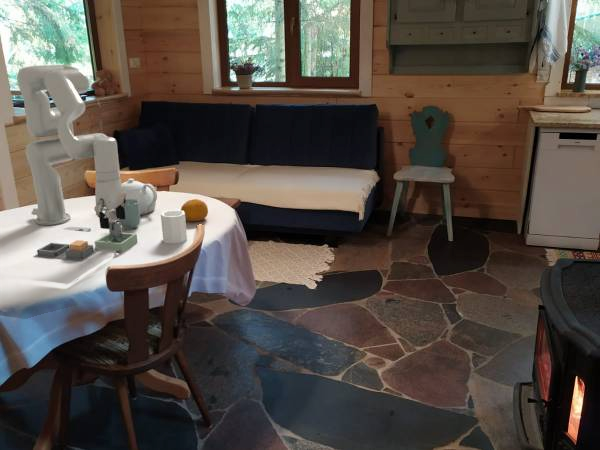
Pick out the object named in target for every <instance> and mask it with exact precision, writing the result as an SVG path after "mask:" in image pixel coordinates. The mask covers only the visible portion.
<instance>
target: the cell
mask: <svg viewBox="0 0 600 450" xmlns="http://www.w3.org/2000/svg"><path fill="white" fill-rule="evenodd" d="M109 225H110V228H109V229H108V233H110V240H109V242H115V243H121V242H123V241H124V239H123V238H122V233H123V231H122V230H123V229H122V226H121V222H120V221H119V220H117V219H113V220H111V221H110V220H109Z"/></svg>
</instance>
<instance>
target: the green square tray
mask: <svg viewBox="0 0 600 450" xmlns="http://www.w3.org/2000/svg"><path fill="white" fill-rule="evenodd" d="M122 238H123V242H121V243H115V242H111V241H110V233H109V232H108V233H107V234H105V235H103V236H102V237H100V238H98V239H97V240H94V246H95V248H99V249H109V250H117V251H115V252H114V253H115V254H123V253H125V252H126V251H127V250H129V249H130V248H132V247H134V246H135V245H136V244H138V234H137V233H129V232H122Z"/></svg>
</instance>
